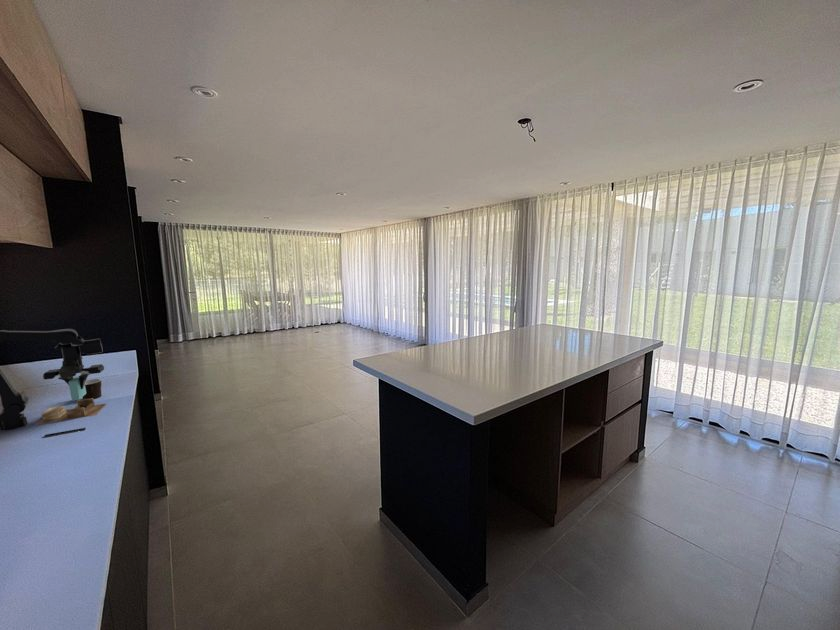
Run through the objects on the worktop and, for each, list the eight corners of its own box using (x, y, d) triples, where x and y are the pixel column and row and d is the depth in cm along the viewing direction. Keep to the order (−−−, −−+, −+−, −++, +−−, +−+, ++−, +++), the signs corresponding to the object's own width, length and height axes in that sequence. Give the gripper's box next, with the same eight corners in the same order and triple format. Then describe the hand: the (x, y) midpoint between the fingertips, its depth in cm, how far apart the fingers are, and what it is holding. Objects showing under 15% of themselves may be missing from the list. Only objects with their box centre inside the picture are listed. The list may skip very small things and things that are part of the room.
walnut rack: (35, 428, 143) (32, 416, 142) (50, 414, 155) (48, 403, 154) (97, 418, 152) (95, 406, 151) (107, 406, 164) (105, 395, 163)
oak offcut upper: (42, 417, 146) (41, 414, 146) (49, 411, 152) (49, 408, 152) (57, 415, 149) (57, 411, 148) (64, 408, 155) (64, 405, 154)
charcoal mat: (43, 438, 135) (42, 436, 135) (56, 426, 145) (55, 425, 145) (83, 430, 141) (82, 429, 141) (92, 419, 150) (92, 418, 150)
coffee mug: (85, 398, 173) (82, 380, 171) (107, 395, 177) (104, 377, 175) (74, 407, 163) (70, 388, 161) (97, 404, 166) (94, 385, 165)
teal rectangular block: (71, 400, 149) (68, 381, 148) (79, 394, 156) (76, 376, 155) (79, 399, 151) (76, 380, 149) (86, 393, 158) (83, 375, 156)
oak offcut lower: (43, 420, 146) (42, 417, 146) (51, 414, 152) (50, 411, 152) (59, 418, 149) (58, 415, 148) (66, 412, 155) (65, 408, 154)
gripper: (33, 364, 139) (40, 399, 142) (93, 358, 148) (98, 391, 150) (46, 357, 148) (52, 390, 151) (101, 352, 157) (107, 383, 160)
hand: (78, 389), depth 153 cm, fingers closed on teal rectangular block, 2 cm apart
